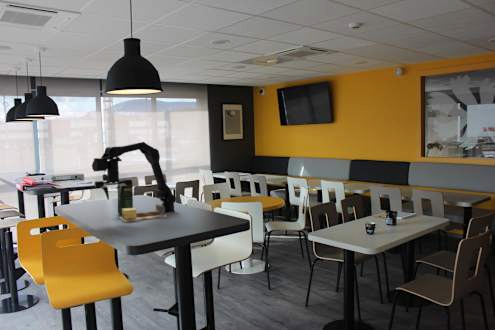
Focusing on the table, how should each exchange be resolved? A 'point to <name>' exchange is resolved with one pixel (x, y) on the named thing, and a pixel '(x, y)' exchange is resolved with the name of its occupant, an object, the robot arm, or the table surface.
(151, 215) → the track
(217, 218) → the table surface
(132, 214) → the block
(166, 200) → the robot arm
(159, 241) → the table surface
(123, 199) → the coffee jar
